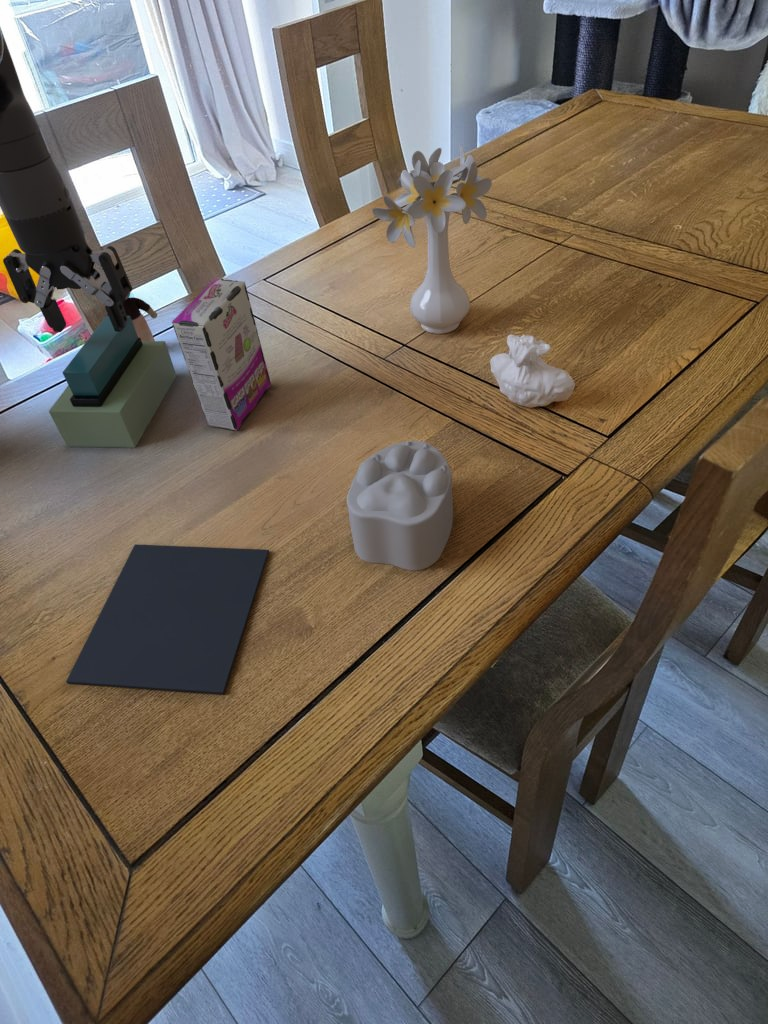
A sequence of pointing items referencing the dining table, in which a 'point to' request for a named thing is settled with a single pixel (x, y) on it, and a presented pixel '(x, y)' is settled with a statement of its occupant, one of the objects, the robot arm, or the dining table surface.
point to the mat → (173, 620)
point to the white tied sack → (530, 374)
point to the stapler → (101, 363)
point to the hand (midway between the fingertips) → (91, 328)
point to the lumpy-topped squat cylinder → (402, 506)
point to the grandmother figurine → (139, 316)
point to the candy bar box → (223, 353)
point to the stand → (119, 403)
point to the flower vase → (436, 232)
